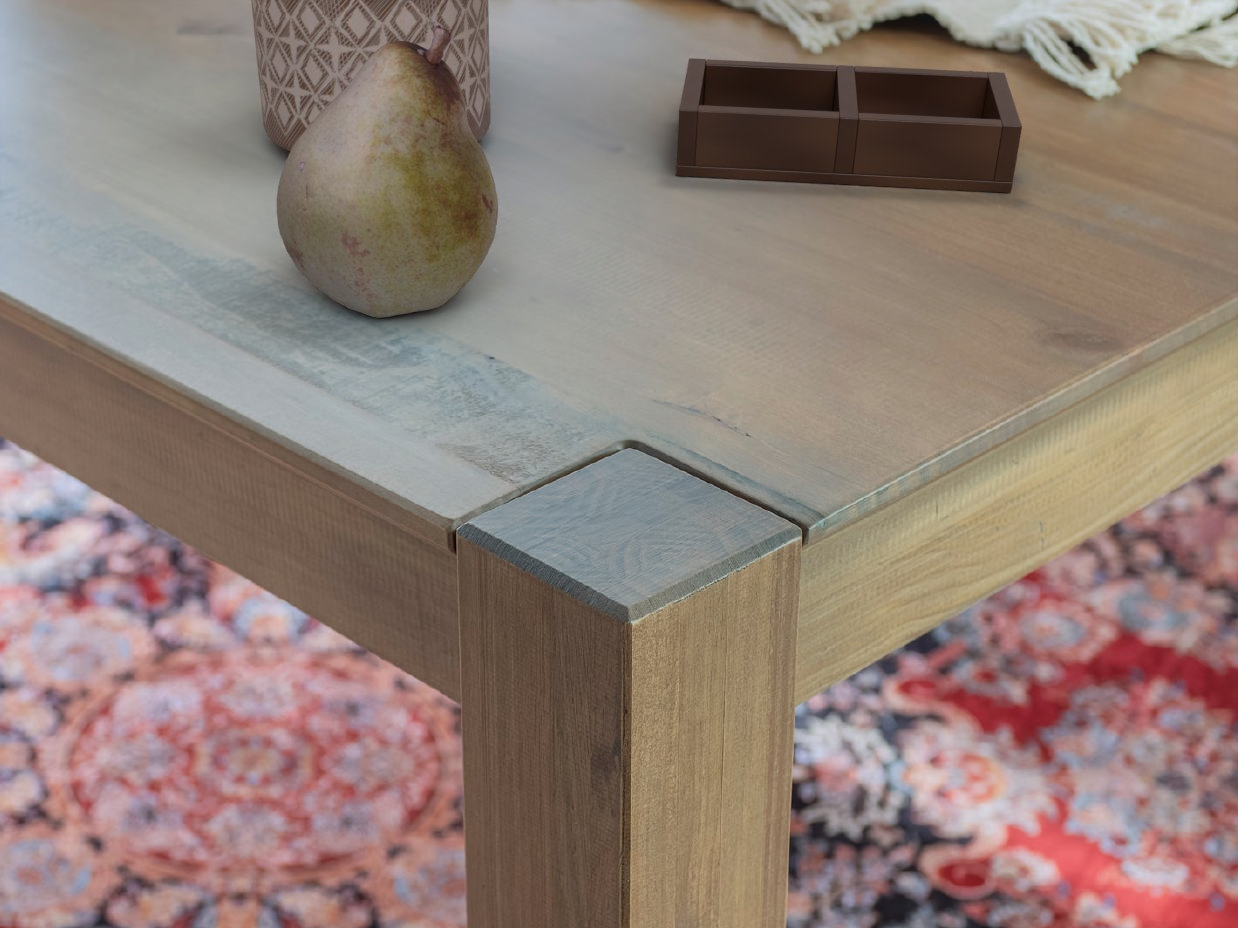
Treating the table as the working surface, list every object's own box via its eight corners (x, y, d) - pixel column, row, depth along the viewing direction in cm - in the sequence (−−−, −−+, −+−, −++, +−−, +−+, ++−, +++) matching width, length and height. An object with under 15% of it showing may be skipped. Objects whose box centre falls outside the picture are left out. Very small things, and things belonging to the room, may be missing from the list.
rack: (994, 135, 96) (1004, 72, 94) (1011, 193, 89) (1022, 126, 87) (685, 120, 98) (688, 58, 96) (675, 176, 90) (678, 109, 88)
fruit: (541, 306, 76) (541, 38, 69) (378, 367, 71) (360, 83, 64) (402, 242, 82) (389, -12, 75) (242, 293, 77) (212, 26, 70)
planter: (520, 168, 91) (518, -31, 85) (291, 193, 87) (272, -13, 81) (454, 99, 100) (449, -85, 94) (246, 120, 97) (226, -70, 91)
